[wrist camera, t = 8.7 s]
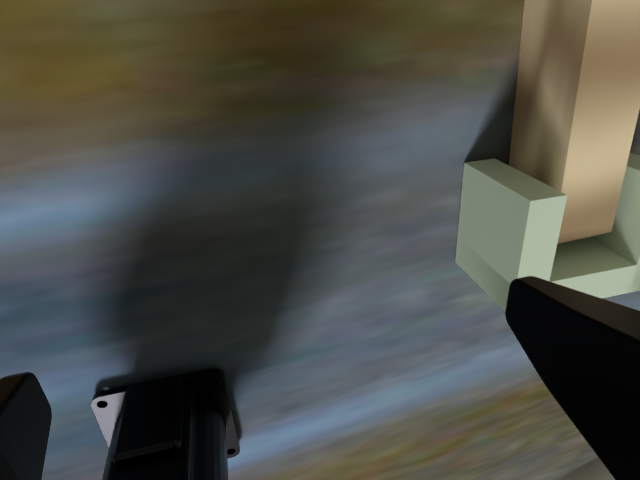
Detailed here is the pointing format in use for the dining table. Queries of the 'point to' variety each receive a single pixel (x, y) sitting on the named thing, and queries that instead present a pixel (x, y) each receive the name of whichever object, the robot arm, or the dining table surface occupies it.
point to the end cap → (542, 234)
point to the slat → (578, 104)
